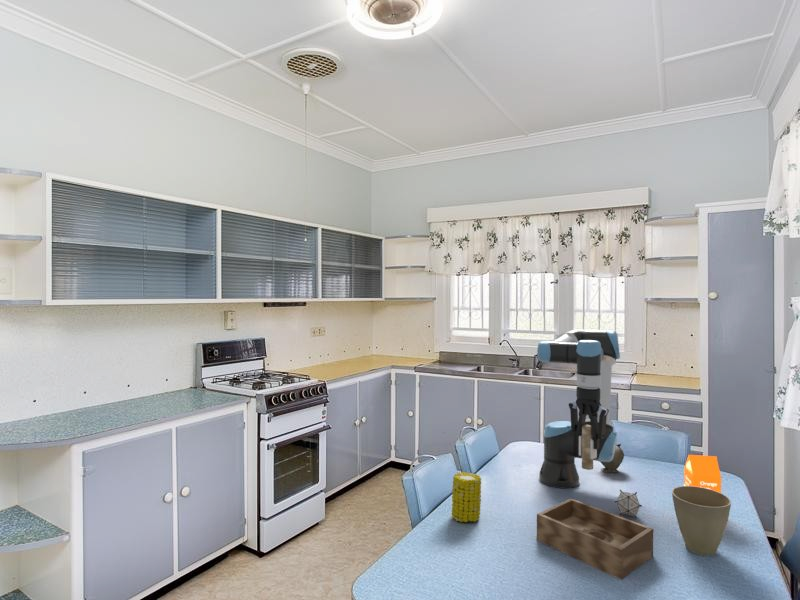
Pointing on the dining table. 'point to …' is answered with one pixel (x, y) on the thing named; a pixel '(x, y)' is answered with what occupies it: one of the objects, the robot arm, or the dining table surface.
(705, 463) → the orange juice
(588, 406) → the robot arm
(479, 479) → the food
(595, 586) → the dining table surface
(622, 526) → the box
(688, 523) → the plant pot
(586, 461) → the peg
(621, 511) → the game die
